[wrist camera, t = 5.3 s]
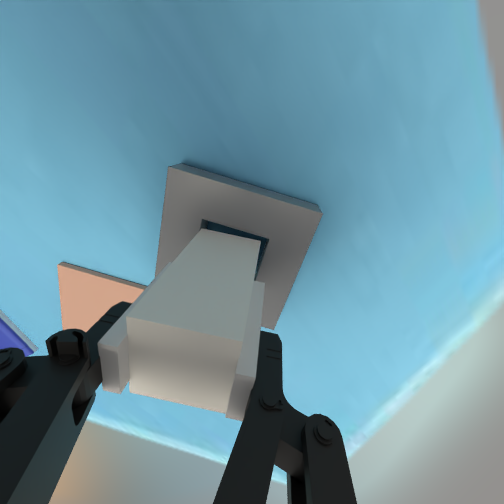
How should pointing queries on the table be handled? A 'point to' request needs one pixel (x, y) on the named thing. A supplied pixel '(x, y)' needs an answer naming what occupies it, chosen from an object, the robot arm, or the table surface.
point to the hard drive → (14, 336)
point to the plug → (194, 323)
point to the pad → (90, 295)
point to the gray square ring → (239, 226)
